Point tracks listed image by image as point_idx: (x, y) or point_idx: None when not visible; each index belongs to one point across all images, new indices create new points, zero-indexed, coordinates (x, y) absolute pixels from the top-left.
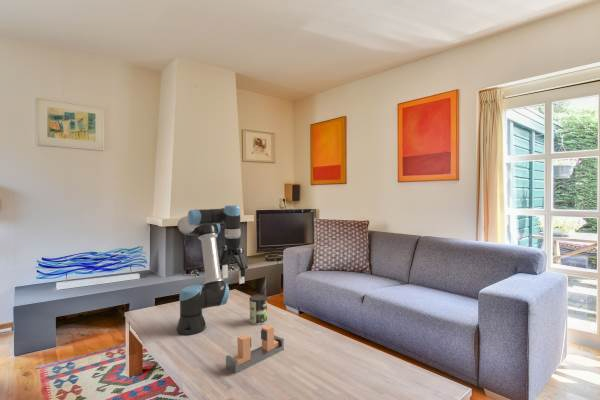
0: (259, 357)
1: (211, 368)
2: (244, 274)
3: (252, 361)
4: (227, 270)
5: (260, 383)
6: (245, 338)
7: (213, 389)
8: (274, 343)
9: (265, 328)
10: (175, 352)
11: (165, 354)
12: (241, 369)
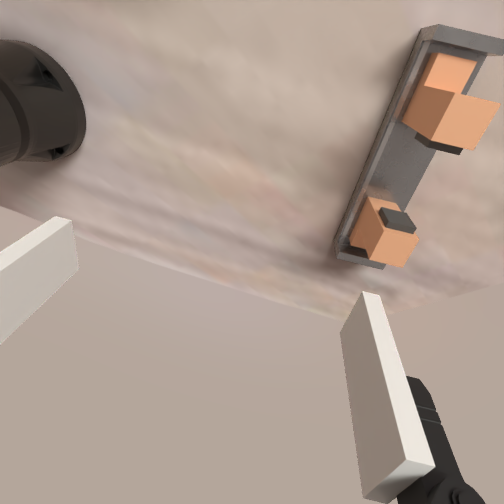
0: (420, 179)
1: (300, 257)
2: (431, 410)
3: (405, 206)
4: (3, 273)
5: (464, 258)
6: (405, 255)
7: None
8: (462, 88)
9: (457, 141)
10: (156, 241)
11: (147, 257)
12: None
